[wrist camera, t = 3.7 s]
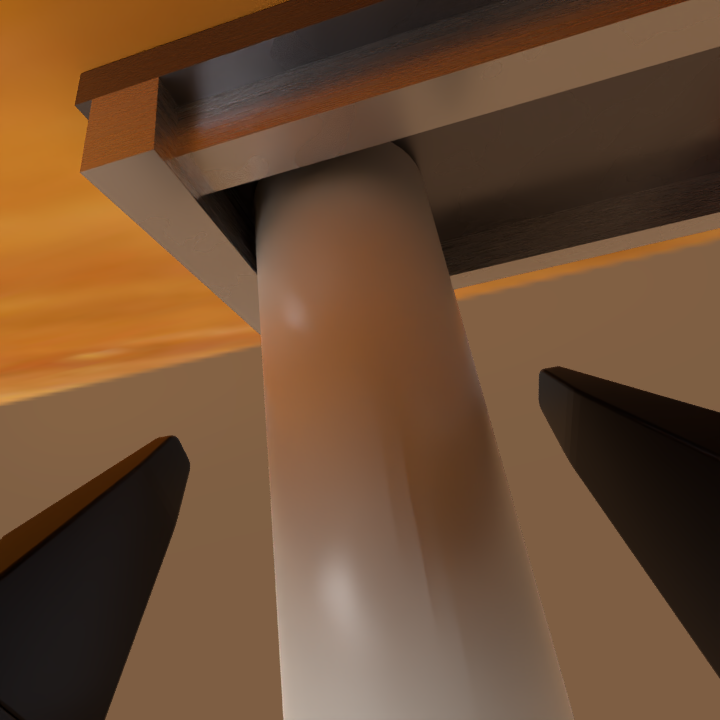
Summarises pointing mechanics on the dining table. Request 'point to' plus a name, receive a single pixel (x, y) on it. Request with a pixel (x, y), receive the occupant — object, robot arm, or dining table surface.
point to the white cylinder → (386, 465)
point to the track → (423, 126)
